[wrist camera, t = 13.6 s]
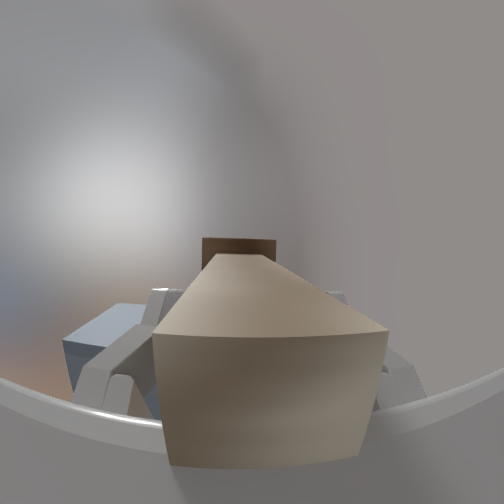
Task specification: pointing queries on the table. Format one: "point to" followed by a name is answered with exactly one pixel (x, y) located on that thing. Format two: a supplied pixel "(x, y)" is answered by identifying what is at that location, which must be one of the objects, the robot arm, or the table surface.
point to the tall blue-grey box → (104, 343)
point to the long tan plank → (263, 366)
